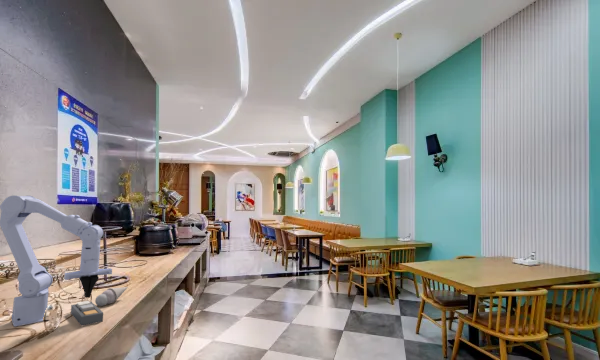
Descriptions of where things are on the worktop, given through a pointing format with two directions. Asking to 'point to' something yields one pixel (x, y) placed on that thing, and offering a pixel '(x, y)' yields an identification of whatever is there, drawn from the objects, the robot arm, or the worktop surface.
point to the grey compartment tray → (86, 319)
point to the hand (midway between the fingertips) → (87, 296)
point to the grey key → (86, 307)
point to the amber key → (90, 312)
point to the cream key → (82, 303)
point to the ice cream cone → (109, 296)
